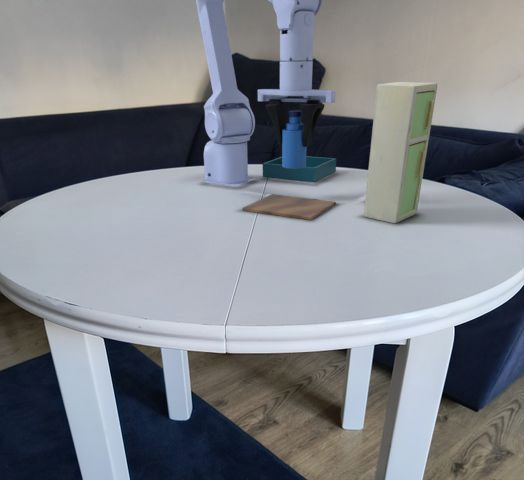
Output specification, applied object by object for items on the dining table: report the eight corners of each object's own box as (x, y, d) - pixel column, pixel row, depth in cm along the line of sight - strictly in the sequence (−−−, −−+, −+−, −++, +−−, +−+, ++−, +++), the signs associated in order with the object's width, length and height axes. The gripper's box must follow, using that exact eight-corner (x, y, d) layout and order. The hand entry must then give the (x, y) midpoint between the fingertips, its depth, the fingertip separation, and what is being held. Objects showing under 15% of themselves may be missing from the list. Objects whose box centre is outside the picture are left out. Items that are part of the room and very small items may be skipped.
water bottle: (278, 167, 92) (278, 111, 87) (288, 163, 96) (289, 109, 91) (299, 169, 90) (301, 112, 86) (309, 165, 94) (311, 110, 89)
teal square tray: (262, 179, 114) (262, 163, 112) (287, 169, 124) (287, 154, 122) (314, 185, 109) (314, 168, 107) (335, 174, 119) (336, 158, 117)
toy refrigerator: (399, 225, 82) (419, 84, 72) (362, 217, 87) (375, 83, 76) (421, 215, 87) (442, 82, 77) (385, 208, 92) (400, 81, 81)
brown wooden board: (242, 210, 91) (242, 208, 91) (272, 196, 100) (272, 194, 100) (310, 220, 85) (310, 217, 85) (335, 204, 94) (335, 201, 94)
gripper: (343, 60, 84) (338, 144, 91) (270, 61, 90) (270, 140, 97) (328, 61, 79) (324, 150, 86) (251, 61, 85) (253, 145, 92)
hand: (294, 145), depth 91 cm, fingers closed on water bottle, 4 cm apart
